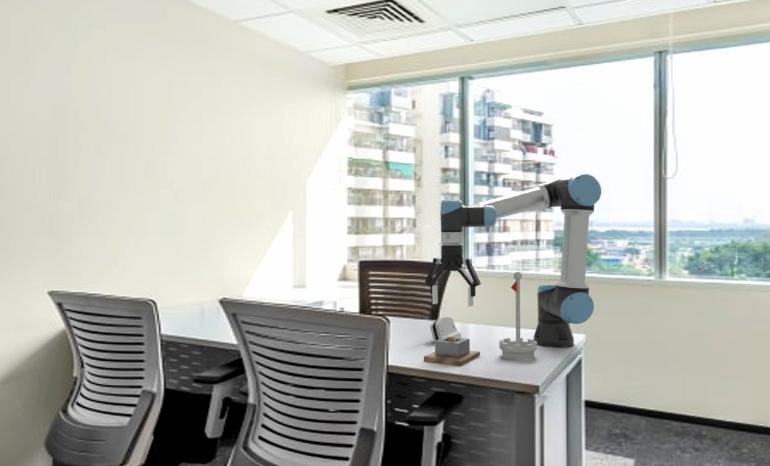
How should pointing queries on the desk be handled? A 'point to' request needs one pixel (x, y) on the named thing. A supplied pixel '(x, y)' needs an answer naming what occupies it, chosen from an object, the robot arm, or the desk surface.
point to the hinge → (444, 328)
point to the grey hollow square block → (452, 347)
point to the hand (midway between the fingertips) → (452, 304)
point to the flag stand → (517, 334)
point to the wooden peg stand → (450, 360)
